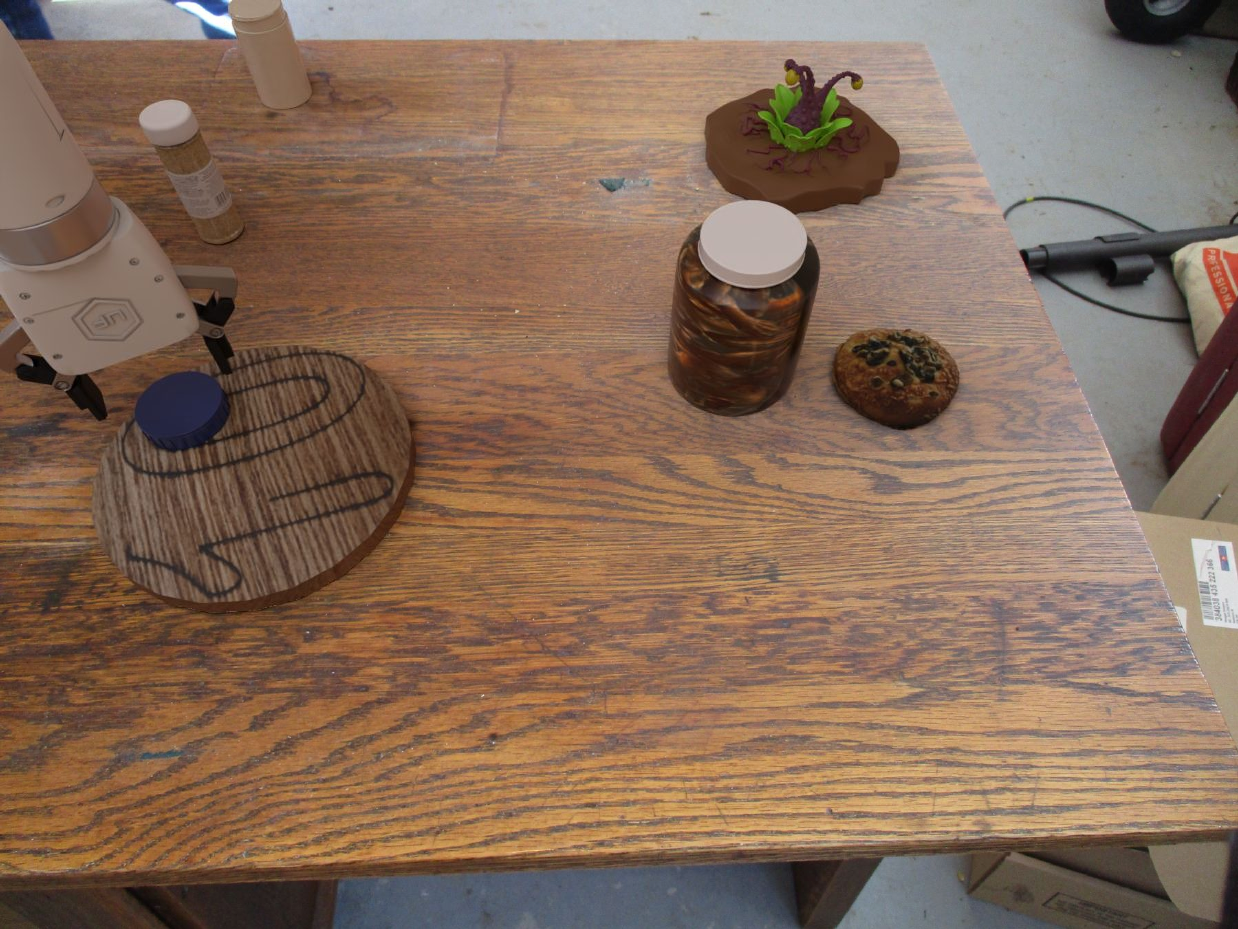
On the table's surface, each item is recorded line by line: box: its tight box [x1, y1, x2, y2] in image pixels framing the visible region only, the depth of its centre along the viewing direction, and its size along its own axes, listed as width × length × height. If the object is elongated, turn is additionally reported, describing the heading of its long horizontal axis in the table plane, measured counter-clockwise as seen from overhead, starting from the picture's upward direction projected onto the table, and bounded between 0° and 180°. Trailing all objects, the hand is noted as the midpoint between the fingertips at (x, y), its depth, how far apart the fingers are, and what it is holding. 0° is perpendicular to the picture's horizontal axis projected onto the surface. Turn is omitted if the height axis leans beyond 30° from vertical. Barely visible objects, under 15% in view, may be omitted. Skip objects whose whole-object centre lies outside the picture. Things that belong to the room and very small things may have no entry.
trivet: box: [91, 344, 417, 613], centre depth 68 cm, size 25×25×2 cm
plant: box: [704, 58, 901, 215], centre depth 88 cm, size 20×20×11 cm
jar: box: [667, 199, 821, 417], centre depth 69 cm, size 12×12×15 cm
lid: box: [133, 370, 231, 450], centre depth 69 cm, size 7×7×2 cm
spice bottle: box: [138, 99, 245, 245], centre depth 80 cm, size 5×5×13 cm
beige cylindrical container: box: [227, 0, 313, 110], centre depth 94 cm, size 6×6×11 cm
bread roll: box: [831, 327, 961, 431], centre depth 73 cm, size 11×11×5 cm
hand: (163, 384), depth 67 cm, fingers open, 9 cm apart
